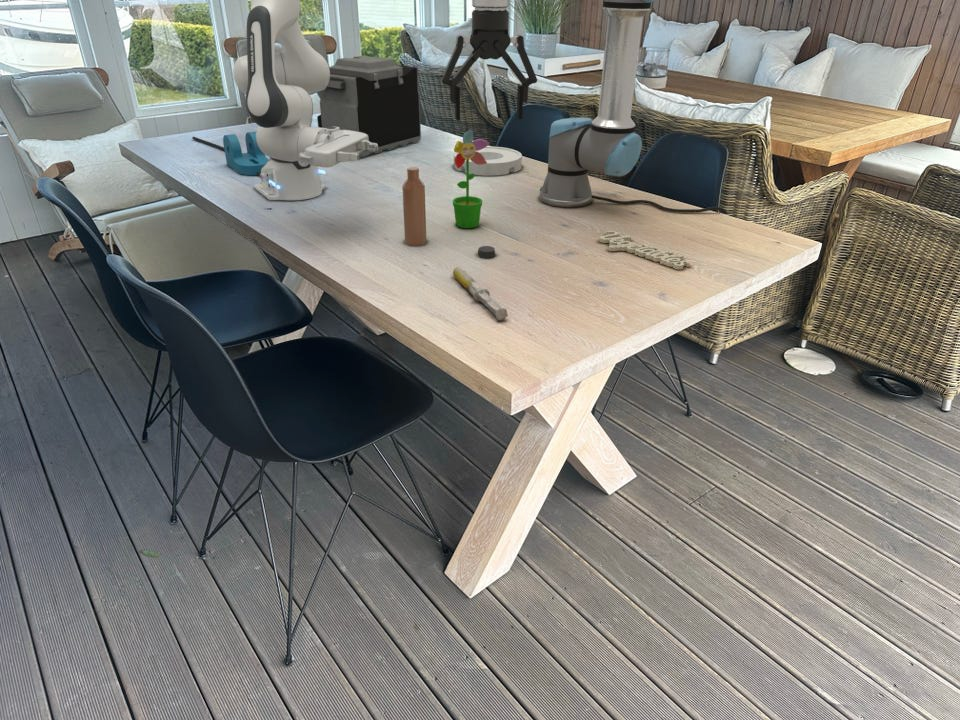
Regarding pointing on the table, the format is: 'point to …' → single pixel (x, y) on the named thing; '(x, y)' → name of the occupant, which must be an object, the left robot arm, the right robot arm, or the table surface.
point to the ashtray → (494, 162)
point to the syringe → (479, 293)
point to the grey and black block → (373, 101)
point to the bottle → (414, 208)
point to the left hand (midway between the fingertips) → (367, 152)
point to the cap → (486, 252)
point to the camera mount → (244, 154)
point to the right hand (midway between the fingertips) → (488, 118)
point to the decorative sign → (643, 250)
